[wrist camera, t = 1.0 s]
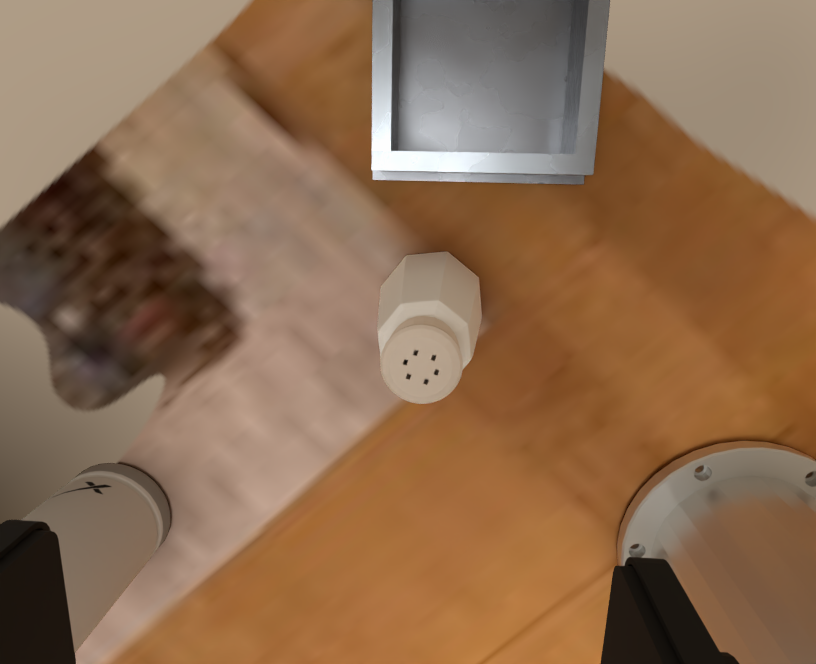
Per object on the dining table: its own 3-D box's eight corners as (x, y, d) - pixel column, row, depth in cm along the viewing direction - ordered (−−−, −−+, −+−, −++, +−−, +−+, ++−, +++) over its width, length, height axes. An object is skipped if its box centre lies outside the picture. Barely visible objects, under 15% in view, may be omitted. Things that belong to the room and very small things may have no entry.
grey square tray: (602, -51, 26) (629, -93, 22) (580, 184, 28) (602, 185, 24) (375, -51, 27) (362, -91, 23) (374, 179, 29) (362, 179, 25)
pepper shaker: (498, 266, 30) (525, 315, 19) (465, 364, 31) (473, 461, 20) (395, 235, 30) (364, 266, 19) (366, 334, 31) (323, 415, 20)
